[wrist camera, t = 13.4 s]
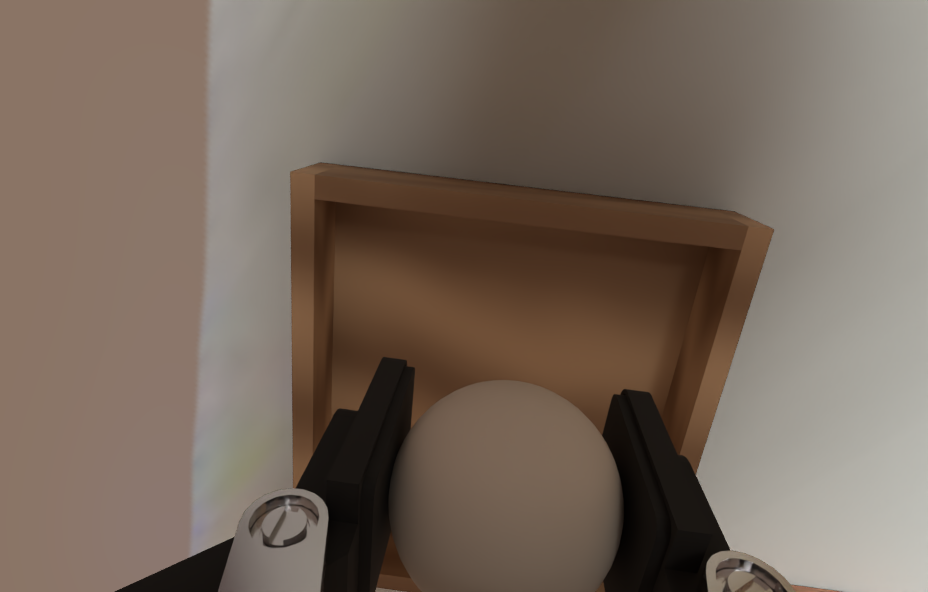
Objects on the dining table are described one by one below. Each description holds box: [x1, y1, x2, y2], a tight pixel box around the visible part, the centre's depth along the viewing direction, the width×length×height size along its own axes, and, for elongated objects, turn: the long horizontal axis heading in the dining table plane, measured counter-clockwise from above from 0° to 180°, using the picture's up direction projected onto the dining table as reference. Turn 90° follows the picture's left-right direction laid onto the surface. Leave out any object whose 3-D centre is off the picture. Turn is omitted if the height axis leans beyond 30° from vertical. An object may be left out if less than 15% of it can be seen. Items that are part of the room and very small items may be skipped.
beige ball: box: [388, 380, 624, 592], centre depth 10 cm, size 4×4×4 cm
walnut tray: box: [290, 163, 774, 592], centre depth 21 cm, size 18×16×3 cm
